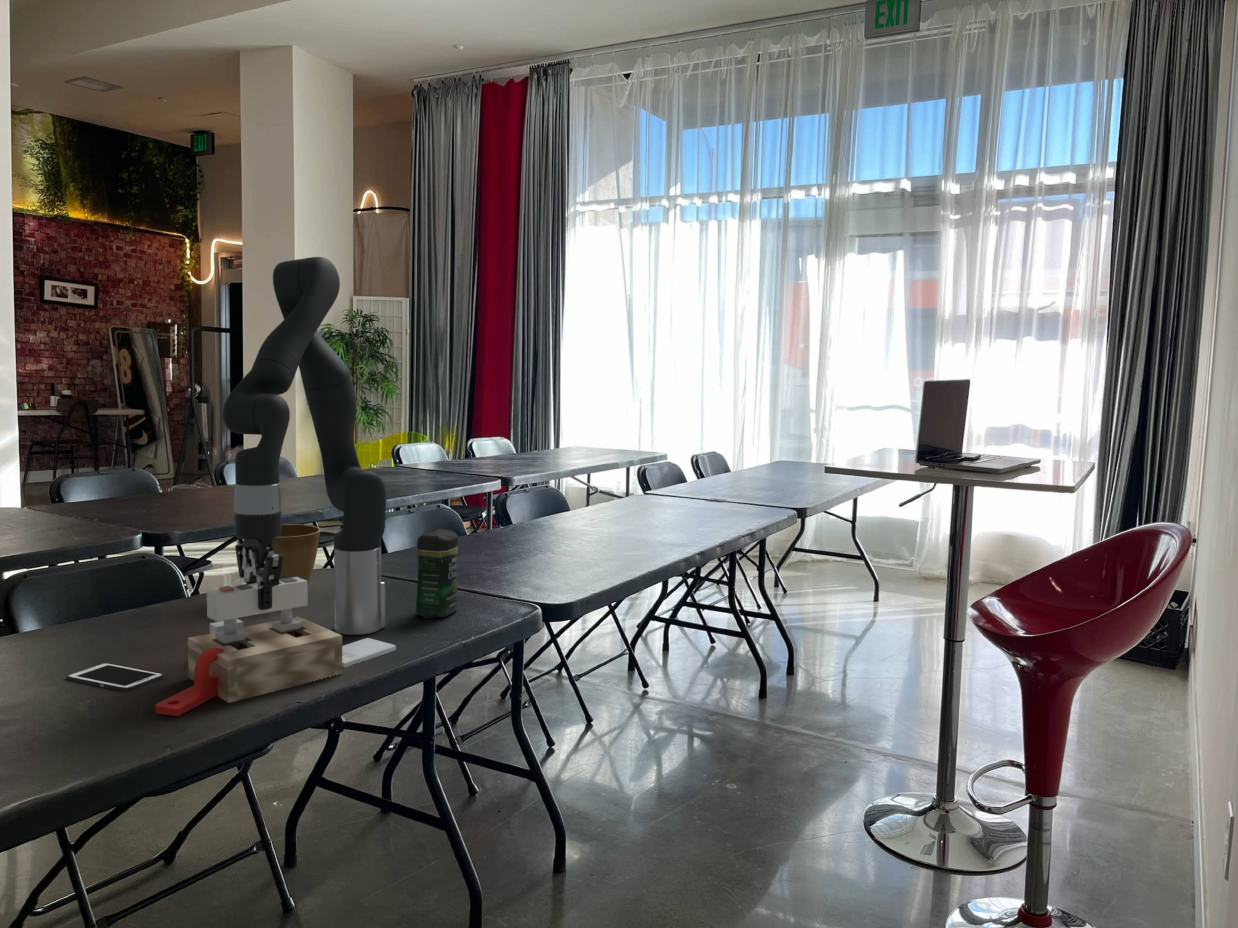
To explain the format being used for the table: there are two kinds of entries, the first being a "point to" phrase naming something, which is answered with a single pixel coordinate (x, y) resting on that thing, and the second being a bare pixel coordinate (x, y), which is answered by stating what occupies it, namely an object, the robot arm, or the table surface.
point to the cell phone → (115, 677)
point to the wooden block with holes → (269, 658)
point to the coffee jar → (437, 574)
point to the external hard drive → (364, 651)
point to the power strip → (255, 606)
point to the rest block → (220, 626)
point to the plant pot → (297, 550)
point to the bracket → (194, 687)
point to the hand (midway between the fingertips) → (259, 605)
